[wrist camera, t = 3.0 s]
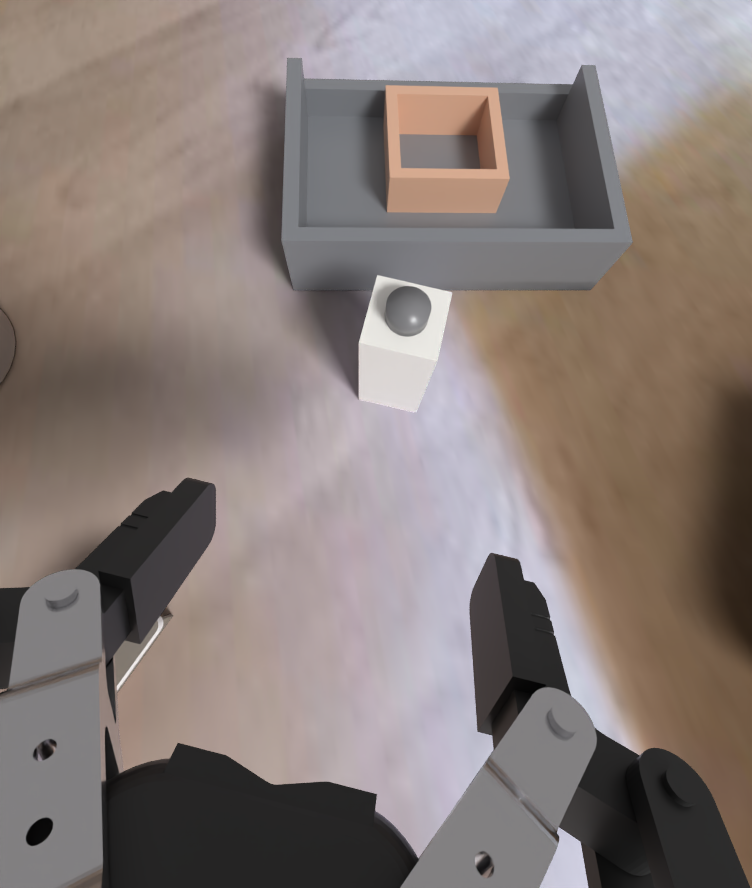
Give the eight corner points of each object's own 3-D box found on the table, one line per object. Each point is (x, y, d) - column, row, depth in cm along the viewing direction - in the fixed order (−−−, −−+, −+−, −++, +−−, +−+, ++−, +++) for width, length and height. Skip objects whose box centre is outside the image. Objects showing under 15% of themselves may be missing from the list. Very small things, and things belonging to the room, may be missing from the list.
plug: (416, 413, 29) (441, 351, 20) (358, 399, 29) (358, 332, 20) (427, 360, 30) (456, 280, 21) (372, 347, 30) (378, 262, 21)
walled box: (293, 290, 30) (281, 240, 26) (297, 118, 34) (287, 47, 30) (590, 290, 31) (632, 242, 27) (561, 122, 35) (593, 55, 31)
